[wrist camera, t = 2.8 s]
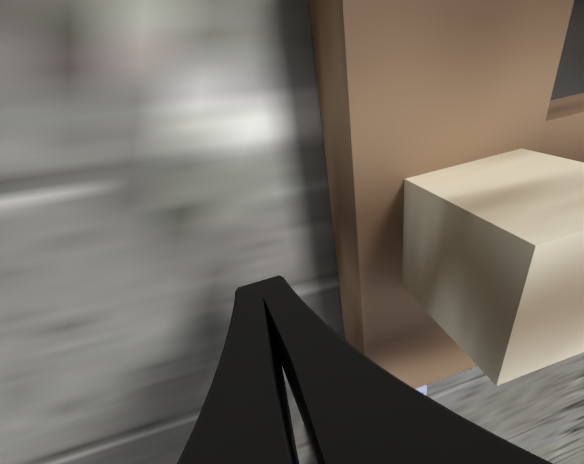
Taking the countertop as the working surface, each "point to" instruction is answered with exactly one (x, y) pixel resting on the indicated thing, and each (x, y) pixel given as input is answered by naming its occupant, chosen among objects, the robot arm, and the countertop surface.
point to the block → (500, 258)
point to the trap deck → (430, 136)
